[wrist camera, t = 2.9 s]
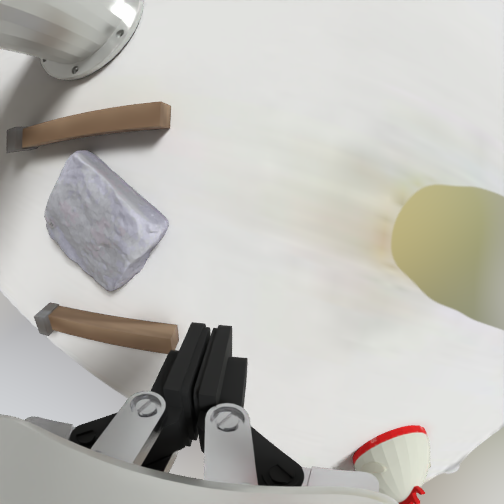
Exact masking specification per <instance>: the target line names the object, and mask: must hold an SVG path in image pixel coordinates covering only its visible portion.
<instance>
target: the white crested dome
mask: <svg viewBox="0 0 504 504" xmlns="http://www.w3.org/2000/svg"><path fill="white" fill-rule="evenodd" d="M353 463H354V468H355V471H360V472H367V473H370V474H372V475H374V476H375V477H376V478H377V480H378V481H379V493H382V494H385V495H388V496H390V497H392V498H393V499H395V500H396V501H397V502H398V503H399V504H413V503H414V504H420V501H419V499H418V498H417V496H416V493H419V494H425V492H424V491H423V490H422V489H421V486H422V485H423V483H424V481H425V478H426V476H427V473H428V470H429V468H430V467H431V464H430V443H429V438H428V436H427V433H426V431H425V429H424V428H423V427H421V426H414V425H411V426H405V427H400V428H397V429H394V430H391V431H388V432H386V433H384V434H381V435H379V436H377V437H375V438H374V439H372V440H370V441H368V442H367V443H365V444H364V445H363V446H361V447H360V448H359V449H358V450H357V451H356V452H355V453H354V456H353Z"/></svg>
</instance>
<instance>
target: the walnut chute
mask: <svg viewBox="0 0 504 504" xmlns="http://www.w3.org/2000/svg"><path fill="white" fill-rule="evenodd" d="M170 117H171V106H170V105H168V104H165V103H163V102H152V103H143V104H134V105H127V106H120V107H113V108H107V109H102V110H96V111H91V112H86V113H81V114H76V115H72V116H67V117H63V118H59V119H55V120H51V121H47V122H44V123H40V124H37V125H33V126H30V127H15V128H12V129H9V130H7V153H10V152H17V151H25V150H31V149H35V148H37V146H41V145H45V144H50V143H55V142H60V141H65V140H71V139H77V138H83V137H89V136H96V135H103V134H111V133H120V132H129V131H140V130H152V129H168V128H170ZM34 318H35V321H36V324H37V327H38V330H39V333H41V334H43V335H47V336H49V335H50V334H51V333H52V332H53V331H54V330H55V331H59V332H62V333H66V334H70V335H74V336H78V337H82V338H86V339H91V340H95V341H99V342H104V343H109V344H113V345H118V346H124V347H129V348H134V349H140V350H146V351H152V352H158V353H165V354H168V353H169V352H170V350H175V348H176V346H177V343H178V341H179V337H178V328H177V325H173V324H165V323H157V322H150V321H143V320H136V319H129V318H123V317H116V316H110V315H104V314H99V313H93V312H88V311H82V310H77V309H72V308H67V307H63V306H59V304H55V303H49V304H48V305H46V306H45V307H44V308H43V309H42V310H41V311H40V312H39V313H37V314H36V315H35V316H34Z"/></svg>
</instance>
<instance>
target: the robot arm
mask: <svg viewBox="0 0 504 504" xmlns="http://www.w3.org/2000/svg"><path fill="white" fill-rule="evenodd" d="M143 2H144V1H143V0H0V49H3V50H8V51H13V52H18V53H22V54H26V55H30V56H34V57H38V58H40V60H41V64H42V66H43V68H44V70H45V71H46V72H47V73H48V74H49V75H50V76H52V77H54V78H57V79H62V80H75V79H79V78H82V77H85V76H87V75H90V74H92V73H93V72H95V71H97V70H98V69H100V68H101V67H103V66H104V65H105V64H106V63H108V62H109V61H110V60H111V59H112V58H113V57H114V56H115V55H116V54H118V53H119V52H120V50H121V49H122V48H123V47H124V46H125V44H126V43H127V42H128V41H129V39H130V38H131V36H132V34H133V33H134V31H135V30H136V27H137V25H138V23H139V21H140V18H141V15H142V11H143ZM246 378H247V358H238V357H232V326H223V325H219V326H218V328H213V330H212V333H211V337H210V328H209V327H206V325H205V324H203V323H193V322H192V323H191V325H190V327H189V330H188V332H187V334H186V336H185V339H184V341H183V343H182V346H181V348H180V350H179V351H176V350H170V352H169V353H168V355H167V358H166V360H165V362H164V364H163V366H162V368H161V370H160V372H159V374H158V376H157V379H156V381H155V383H154V385H153V387H152V389H151V391H141V392H137V393H135V394H133V395H132V396H131V397H130V398H129V399H128V400H127V401H126V402H125V404H124V405H123V407H122V408H121V409H120V410H119V412H118V413H115V414H112V415H109V416H106V417H103V418H100V419H97V420H94V421H91V422H88V423H85V424H82V425H79V426H77V427H74V426H73V425H72V424H67V423H62V422H57V421H52V420H48V419H43V418H39V417H29V418H27V419H25V420H22V419H19V418H16V417H12V416H8V415H1V414H0V504H399V503H398V502H397V501H396V500H395V499H393V498H392V497H390V496H388V495H385V494H382V493H379V481H378V480H377V478H376V477H375V476H374V475H372V474H370V473H367V472H360V471H347V470H336V469H328V468H320V467H313V466H312V468H305V467H301V466H300V465H299V464H298V463H297V462H295V461H294V460H292V459H291V458H290V457H289V456H287V455H286V454H285V453H283V452H282V451H281V450H279V449H278V448H277V447H276V446H274V445H273V444H272V443H271V442H269V441H268V440H267V439H266V438H264V437H263V436H262V435H261V434H260V433H258V432H257V431H256V430H255V429H254V428H252V427H251V425H250V418H249V415H248V413H247V412H246V410H245V409H244V408H243V407H244V398H245V389H246ZM198 434H199V439H200V446H201V450H202V452H203V453H204V480H202V479H196V478H189V477H185V476H180V475H175V474H170V473H169V471H170V469H171V467H172V465H173V463H174V461H175V459H176V457H177V455H178V450H180V449H182V448H184V447H185V446H191V442H192V440H197V437H198Z"/></svg>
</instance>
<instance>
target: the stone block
mask: <svg viewBox="0 0 504 504" xmlns="http://www.w3.org/2000/svg"><path fill="white" fill-rule="evenodd" d="M44 217H45V219H46V222H47V224H46V227H47V229H48V232H49V235H50V237H51V238H52V239H53V240H55V241H56V242H57V243H58V244H59V246H60V248H61V249H62V251H63V252H64V253H65V254H66V255H67V256H68V257H69V258H70V259H71V260H73V261H74V262H76V263H78V265H79V266H80V267H81V268H82V269H83V270H84V271H85V272H86V273H87V274H89V275H90V276H92V277H93V278H94V279H95V281H96V282H98V283H99V284H100V285H101V286H102V287H104V288H105V289H106V290H108V291H112V290H116V289H117V288H119V287H121V286H123V285H124V284H125V283H127V282H128V281H129V280H130V279H131V278H132V277H133V276H134V275H135V274H136V273H138V272H140V270H141V269H142V268H143V267H144V264H145V262H146V260H147V258H148V257H149V254H150V251H151V249H152V248H153V247H155V246H156V245H157V243H158V242H159V241H160V240H161V238H162V237H163V236H164V235H165V233H166V231H167V228H168V225H169V223H168V220H167V219H166V217H165V216H164V215H163V214H162V213H160V212H159V211H158V210H157V209H156V208H155V207H154V206H152V205H151V204H150V203H149V202H148V201H146V200H145V199H144V198H143V197H142V196H141V195H140V194H138V193H137V192H136V191H135V190H134V189H133V188H132V187H131V186H129V185H128V184H127V183H126V182H125V181H124V180H123V179H122V178H120V177H119V176H118V175H117V174H116V173H115V172H113V171H112V170H111V169H110V168H109V167H108V166H107V165H106V164H105V163H104V162H103V161H102V160H101V159H99V158H98V157H97V156H96V155H95V154H94V153H92V152H89V151H87V150H81V151H76V152H74V153H73V154H72V155H71V156H70V157H69V158H68V159H67V161H66V163H65V166H64V167H63V169H62V171H61V173H60V176H59V178H58V180H57V182H56V184H55V186H54V188H53V190H52V192H51V194H50V196H49V199H48V202H47V206H46V210H45V216H44Z"/></svg>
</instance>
